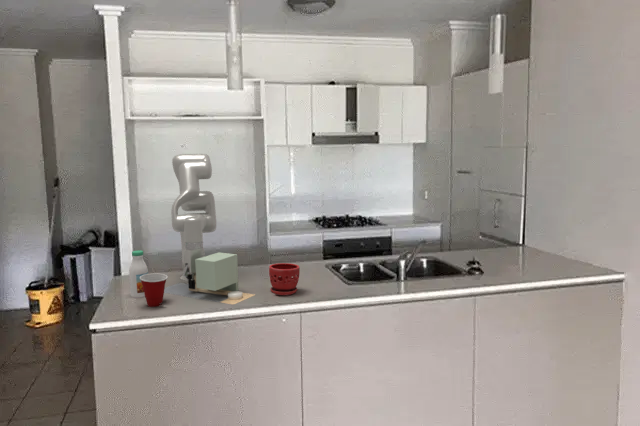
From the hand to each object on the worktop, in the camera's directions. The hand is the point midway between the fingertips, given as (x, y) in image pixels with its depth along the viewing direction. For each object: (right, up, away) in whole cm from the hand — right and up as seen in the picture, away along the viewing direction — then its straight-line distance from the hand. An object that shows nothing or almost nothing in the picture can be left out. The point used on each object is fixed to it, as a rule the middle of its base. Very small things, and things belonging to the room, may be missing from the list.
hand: (196, 286), depth 233 cm
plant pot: (+38, -3, 0) cm, 39 cm away
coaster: (+19, -3, -10) cm, 21 cm away
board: (+1, -3, 0) cm, 3 cm away
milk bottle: (-23, -4, -3) cm, 24 cm away
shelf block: (+11, -4, -5) cm, 12 cm away
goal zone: (+20, -4, -10) cm, 23 cm away
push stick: (+7, -2, -4) cm, 8 cm away
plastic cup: (-13, -6, -14) cm, 20 cm away
